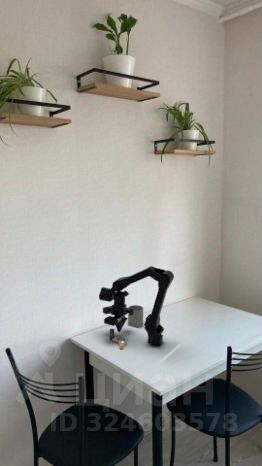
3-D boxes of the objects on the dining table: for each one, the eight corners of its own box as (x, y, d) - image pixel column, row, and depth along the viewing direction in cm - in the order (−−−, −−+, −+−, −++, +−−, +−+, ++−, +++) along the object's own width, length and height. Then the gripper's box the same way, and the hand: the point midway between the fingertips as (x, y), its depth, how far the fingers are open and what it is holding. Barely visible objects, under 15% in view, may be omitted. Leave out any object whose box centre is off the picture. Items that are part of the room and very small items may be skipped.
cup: (141, 328, 215) (141, 311, 213) (126, 327, 216) (127, 310, 214) (144, 322, 223) (144, 305, 221) (129, 321, 224) (130, 304, 222)
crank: (128, 343, 194) (128, 332, 192) (123, 347, 190) (123, 335, 189) (112, 338, 199) (112, 327, 198) (107, 341, 195) (107, 330, 194)
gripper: (117, 294, 210) (116, 321, 213) (95, 305, 195) (95, 334, 198) (134, 298, 204) (133, 326, 207) (113, 310, 189) (113, 340, 192)
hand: (119, 331), depth 201 cm, fingers closed
